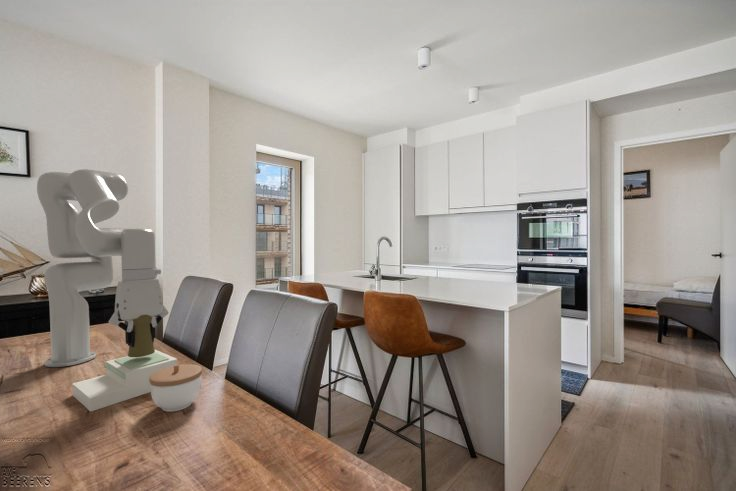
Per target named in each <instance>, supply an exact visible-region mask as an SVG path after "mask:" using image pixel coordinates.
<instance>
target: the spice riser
mask: <svg viewBox="0 0 736 491" xmlns="http://www.w3.org/2000/svg"><path fill="white" fill-rule="evenodd" d="M154 350H155V352H154V353H152V354H150V355H147V356H142V357H129V356H128V355H126V356H122V357H119V358H115V359H110V360H106V361H105V362H104V368H105V374H103V375H100V376H96V377H95V376H94V377H93V378H88V379H85V380H80V381H77V382H73V383H71V384H72V396H73V397H74V399H76V400H77V401H78V402H79V403H81V404H82V405H83V406H84V407H85V408H86V409H87V410H88V411H89V412H94V411H96V410H100V409H103V408H106V407H109V406H112V405H116V404H118V403H121V402H124V401H127V400H128V401H129V400H131V399H133V398H136V397H139V396H143V395H146V394H148V393H151V391H150V382H149V377H150V376H151V375H152V374H153V373H154V372H156V371H158V370H161V369H164V368H167V367H171V366H174V365H179V364H178V358H176V357H174V356H171V355H169V354H167V353H164V352H162V351H159V350H157V349H154Z"/></svg>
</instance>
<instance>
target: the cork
mask: <svg viewBox="0 0 736 491" xmlns="http://www.w3.org/2000/svg"><path fill="white" fill-rule="evenodd" d="M151 321H152V317H151V316H149V315H141V316H139V317H138V318H136V319H134V320H133V331H134V332H135V343H134V345H135V346H134V347H131V346H128V354H127V356H129V357H142V356H147V355H150V354H152V353H154V352H155V350H156V349H155V346H154V345H155V344H154V342H152V336H151V331H150V329H151V328H150V323H151Z"/></svg>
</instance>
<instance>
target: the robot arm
mask: <svg viewBox="0 0 736 491" xmlns="http://www.w3.org/2000/svg"><path fill="white" fill-rule="evenodd" d="M36 192H37V196H38V200H39V202H40V205H41V207H42V209H43V211H44V214H45V218H46V228H47V229H46V231H47V242H48V243H47V244H48V250H49V252H50V253H49V254H50V255H51V256H52V257H54V258H56V259H86V258H88V259H89V258H90V260H91V261H73V262H61V263H55V264H53V265H51V266H49V267H48V268H47V269H46V270H45V272H44V276H43V277H44V283H45V288H46V291H47V295H48V302H49V304H48V305H49V324H50V325H49V326H50V327H49V328H50V355H51V357H49V358H48V359H46V360H45V361H44V366H45V367H47V368H60V367H62V368H63V367H69V366H75V365H79V364H83V363H86V362H88V361H91V360H93V359H95V358H96V357H97V352H96V351H93V350H91V345H90V344H91V340H90V339H91V337H90V334H91V333H90V310H89V309H90V306H89V303H88V301H87V300H86V298H84V296H82V295H81V294H80V292H84V291H93V290H102V289H105V288H108V287H110V286H111V285H112V283H113V280H114V268H113V257H120V256H121V281H117V286H116V292H115V300H114V301H115V302H114V312H113V314H112V315H111V316H110V319H108V323H109V324H111V325H113V326H116V327H118V328H120V329H121V330H123V331H124V332H125V335H124V336H125V344H126V345H128V347H129V346H131V347H134V346H135V345H134V343H135V332H134V331H133V320H134V319H136V318H138V317H139V316H141V315H149V316H151V317H152V321H151V323H150V328H151V329H150V331H151V336H152V342H153V343H154V342H155V338H156V328H157V326H158V324H159V323H160V322H161V321H162V319H163V318H165V317H166V316H167V315H168V314H169V311H168V309H167V308H166V307H165V306H164V303H163V295H162V288H161V284H160V281H159V278H157V277H158V275H161V274H162V270H161V269H159V268H157V267H156V266H157V265H156V236H155V231H153V230H152V229H150V228H120V227H119V228H117V227H110V228H109V227H97V226H96V225H95V224H98V223H101V222H104V221H107V220H110V219H111V218H113V217H114V216H115V215H116V214H117V213H118V212H119V209H120V204H119V201H121V200H123V199H125V198H126V197H127V195H128V193H129V187H128V182H127V181H126V179H125V177H123V176H122V175H120V173H119V174H118V173H115V172H108V171H101V170H95V169H85V168H84V169H76V170H74V171H73V172H71V173H69V172H63V171H62V172H61V171H60V172H59V171H54V172H53V171H50V172H45V173H43V174H41V175H40V176H39V177H38V180H37V184H36ZM69 201H76V202H78V204H79V206H80V207H81V208H82V209H81V211H80V212H79V210H78V209H77V208H76V207H75V206H74V205H73V204H72V203H71V202H69ZM119 319H120V320H122V321H124V322H122V321H120V320H119Z"/></svg>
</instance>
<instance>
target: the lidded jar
mask: <svg viewBox="0 0 736 491" xmlns="http://www.w3.org/2000/svg"><path fill="white" fill-rule="evenodd" d="M202 374H203V368H202V366H200V365H198V364H187V363H186V364H178V365H174V366H171V367H167V368H164V369H161V370H158V371H156V372H154V373H153V374H152V375H151V376H150V377H149V382H150V391H151V392H150V395H151V399H152V401H153V402H154V404H155V405H156V406H157V407H158V408H160V409H161V410H162V411H163V412H168V413H169V412H170V413H171V412H178V411H182V410H184V409H187V408H189V407H190V406H191V405H192V403H193V402H194V401H195V399H197V397H198V395H199V393H200V392H201V391H200V390H201V387H202V380H203V379H202V377H203V375H202Z"/></svg>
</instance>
